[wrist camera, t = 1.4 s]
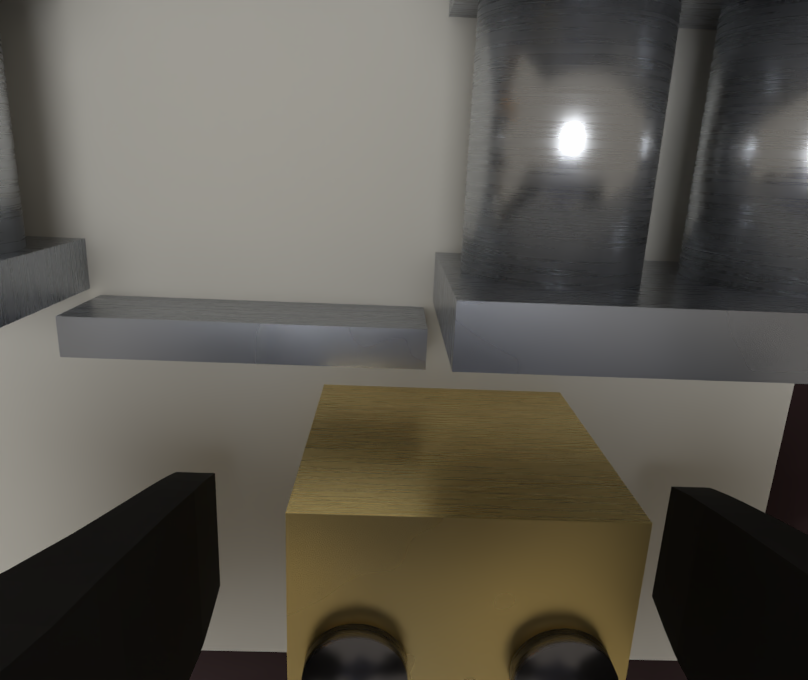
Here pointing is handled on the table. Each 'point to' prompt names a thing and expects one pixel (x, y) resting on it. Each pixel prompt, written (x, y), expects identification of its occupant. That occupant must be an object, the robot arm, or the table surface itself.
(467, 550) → the tan knob cube
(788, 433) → the table surface
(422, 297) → the mat
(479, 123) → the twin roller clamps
